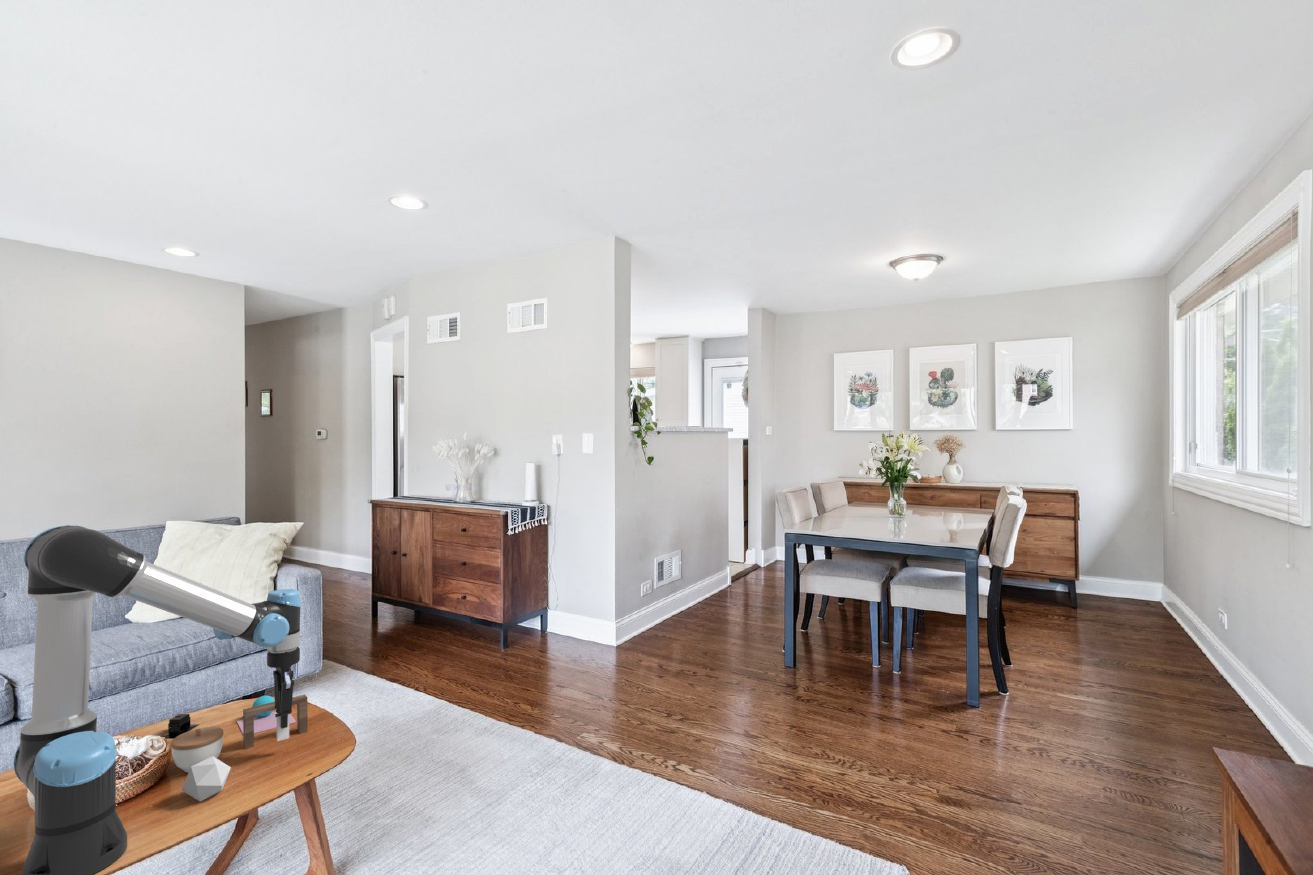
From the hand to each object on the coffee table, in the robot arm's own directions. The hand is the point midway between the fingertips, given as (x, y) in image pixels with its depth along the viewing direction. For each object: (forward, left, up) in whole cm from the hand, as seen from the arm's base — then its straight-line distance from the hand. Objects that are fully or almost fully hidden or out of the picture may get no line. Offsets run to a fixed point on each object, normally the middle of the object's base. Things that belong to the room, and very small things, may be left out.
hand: (282, 738), depth 166 cm
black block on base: (-19, +36, -5) cm, 41 cm away
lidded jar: (-17, +7, -4) cm, 19 cm away
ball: (+1, +30, -1) cm, 30 cm away
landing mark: (+1, +25, -4) cm, 25 cm away
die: (-17, -11, -4) cm, 21 cm away
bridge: (+1, +11, -4) cm, 12 cm away
